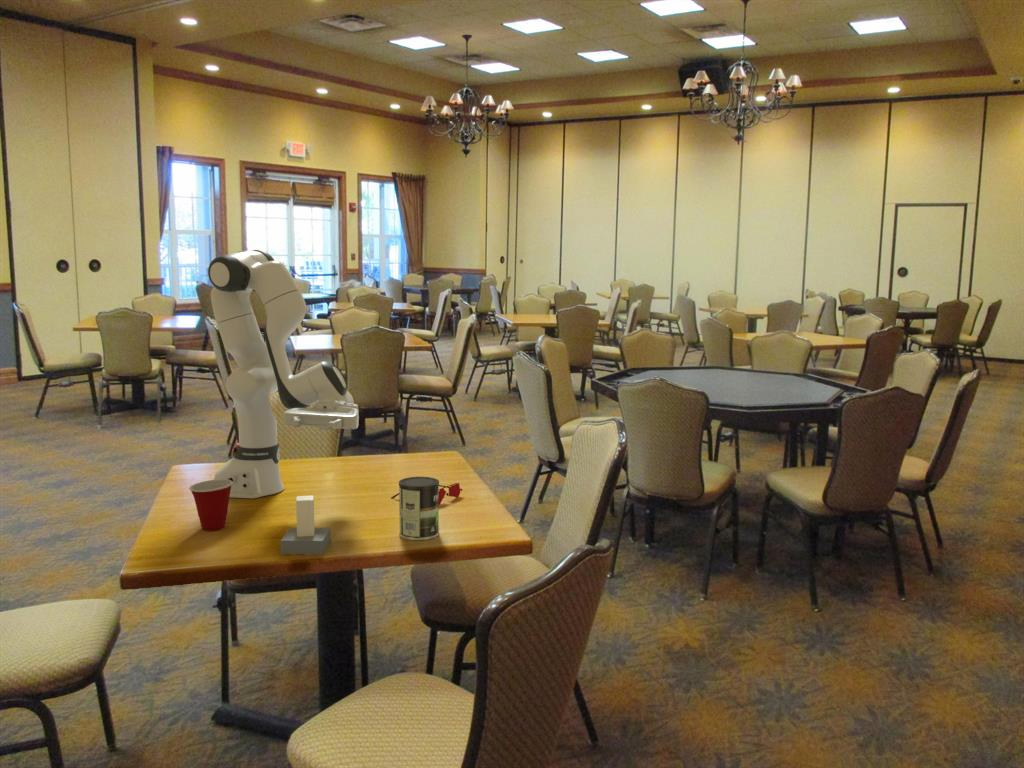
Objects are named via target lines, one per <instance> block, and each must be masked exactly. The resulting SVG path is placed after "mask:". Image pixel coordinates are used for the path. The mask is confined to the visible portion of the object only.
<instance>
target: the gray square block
mask: <svg viewBox="0 0 1024 768" xmlns="http://www.w3.org/2000/svg"><path fill="white" fill-rule="evenodd" d="M331 542H332V529H331V527H315V526H314V536H303V537H297V526H296V527H295V526H293V527H292V526H290V528H289V529H288V530H287V532H286V533H285V534H284V536H283V537H282V538H281V540H280V555H281V554H311V555H310V556H324V555H325V553H324V552H326V551H325V550H327V549H328V547H329V546H330V544H331ZM329 543H330V544H329ZM328 545H329V546H328ZM312 554H313V555H312ZM314 554H315V555H314Z"/></svg>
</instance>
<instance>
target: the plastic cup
mask: <svg viewBox="0 0 1024 768" xmlns="http://www.w3.org/2000/svg"><path fill="white" fill-rule="evenodd" d="M232 484H233V481H231V480H226V479H218V480H214V479H211V480H204V481H201V482H197V483H194V484H192V485H190V486H189V487H188V489H189V491H190V492H191V494H192V497H193V499H194V502H195V503H194V504H195V506H196V511H197V517H198V519H199V523H200V527H201V529H202V530H203V531H207V532H216V531H220V530H222V529H225V528H226V524H227V516H228V512H229V503H230V497H229V496H230V490H231V485H232Z"/></svg>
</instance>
